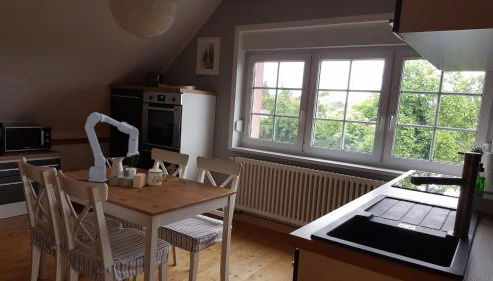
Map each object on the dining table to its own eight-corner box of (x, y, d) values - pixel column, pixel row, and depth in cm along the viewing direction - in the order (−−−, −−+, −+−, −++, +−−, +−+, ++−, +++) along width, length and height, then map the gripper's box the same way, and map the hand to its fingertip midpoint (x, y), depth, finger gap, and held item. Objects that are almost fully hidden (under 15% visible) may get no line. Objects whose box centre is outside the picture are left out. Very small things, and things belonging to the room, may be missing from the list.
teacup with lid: (151, 186, 221) (152, 168, 220) (145, 183, 227) (146, 165, 226) (168, 184, 229) (169, 167, 228) (161, 181, 235) (162, 164, 234)
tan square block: (132, 187, 214) (133, 175, 213) (137, 184, 222) (138, 173, 221) (140, 188, 213) (140, 176, 213) (144, 185, 221) (145, 173, 221)
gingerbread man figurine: (176, 179, 246) (177, 163, 245) (178, 180, 243) (180, 164, 242) (164, 180, 240) (165, 163, 239) (167, 181, 237) (168, 164, 236)
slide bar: (117, 180, 217) (118, 169, 216) (119, 179, 220) (120, 169, 219) (139, 183, 216) (139, 171, 215) (141, 182, 219) (141, 171, 218)
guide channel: (108, 184, 216) (109, 177, 216) (112, 182, 222) (113, 175, 221) (132, 186, 215) (132, 179, 215) (135, 184, 221) (136, 178, 220)
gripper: (134, 147, 222) (133, 168, 223) (143, 145, 236) (142, 165, 237) (124, 146, 222) (123, 167, 223) (133, 144, 237) (132, 164, 238)
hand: (132, 166), depth 230 cm, fingers open, 7 cm apart
